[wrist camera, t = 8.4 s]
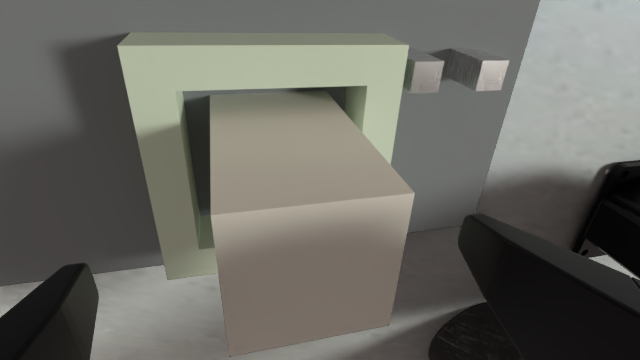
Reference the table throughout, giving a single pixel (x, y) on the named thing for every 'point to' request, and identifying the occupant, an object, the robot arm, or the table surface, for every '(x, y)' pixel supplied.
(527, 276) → the robot arm
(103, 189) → the mat
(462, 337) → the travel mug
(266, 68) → the end holder
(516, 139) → the table surface
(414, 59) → the set of small cubes
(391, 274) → the beige rectangular block
